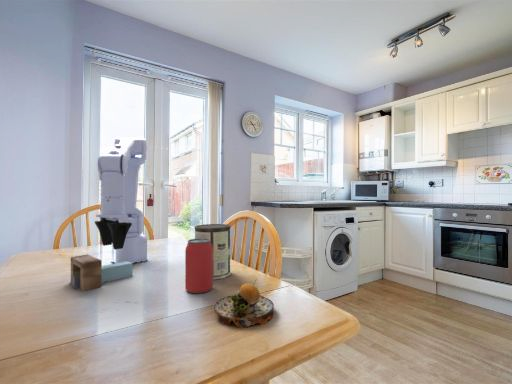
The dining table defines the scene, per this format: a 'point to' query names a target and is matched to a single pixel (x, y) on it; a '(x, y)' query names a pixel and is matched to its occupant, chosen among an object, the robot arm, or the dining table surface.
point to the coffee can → (217, 246)
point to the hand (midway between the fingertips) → (112, 246)
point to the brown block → (87, 271)
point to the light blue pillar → (109, 273)
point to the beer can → (199, 266)
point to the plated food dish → (245, 307)
